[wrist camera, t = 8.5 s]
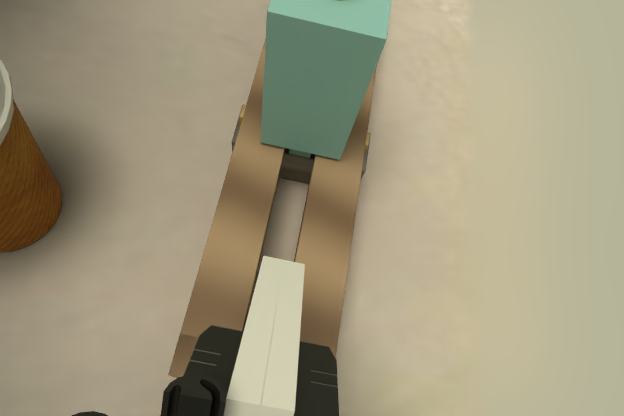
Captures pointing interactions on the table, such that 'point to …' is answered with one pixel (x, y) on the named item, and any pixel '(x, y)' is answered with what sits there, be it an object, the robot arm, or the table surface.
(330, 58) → the block
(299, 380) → the robot arm
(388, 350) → the table surface
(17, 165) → the disposable coffee cup
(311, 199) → the brown flat slatted piece
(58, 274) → the table surface
